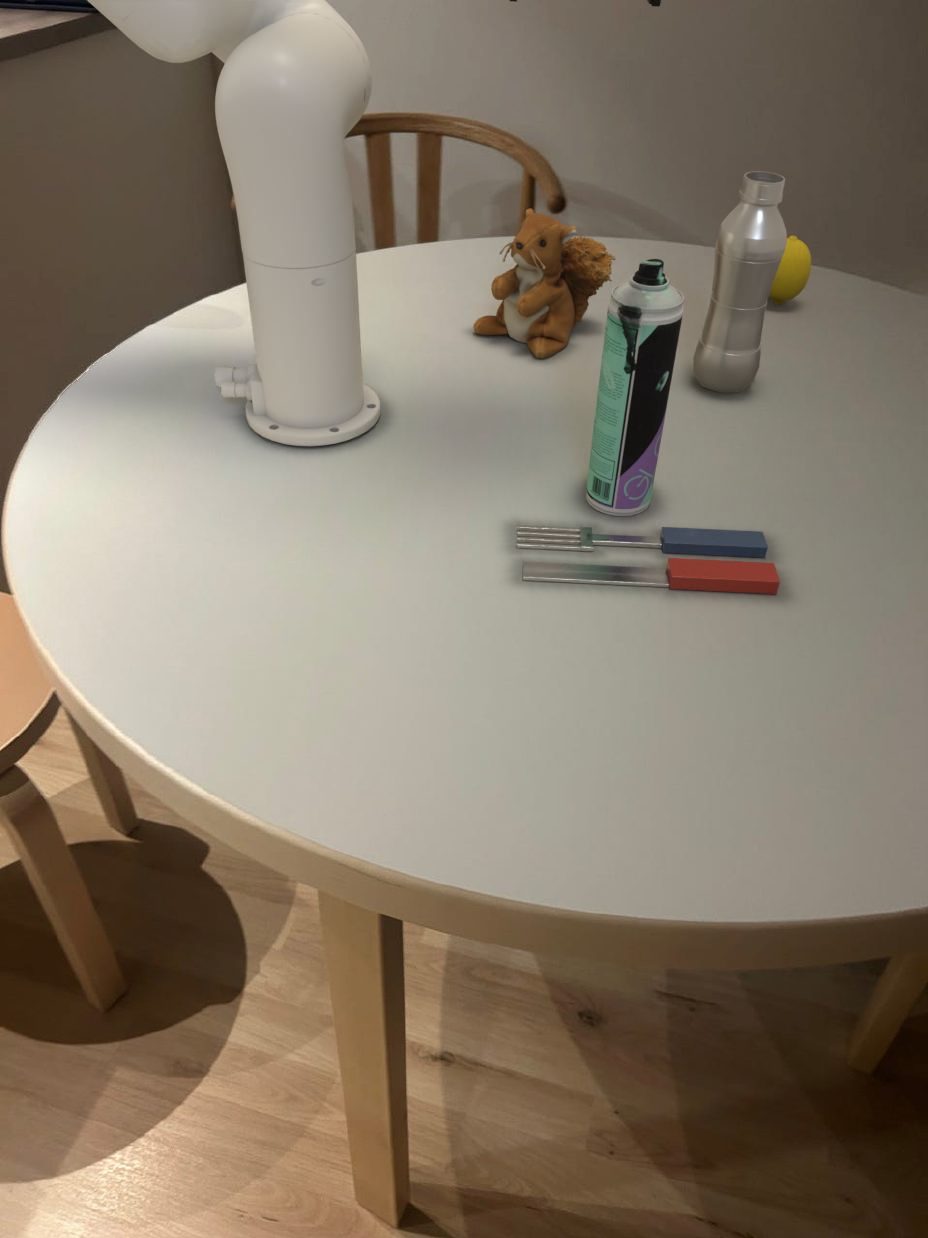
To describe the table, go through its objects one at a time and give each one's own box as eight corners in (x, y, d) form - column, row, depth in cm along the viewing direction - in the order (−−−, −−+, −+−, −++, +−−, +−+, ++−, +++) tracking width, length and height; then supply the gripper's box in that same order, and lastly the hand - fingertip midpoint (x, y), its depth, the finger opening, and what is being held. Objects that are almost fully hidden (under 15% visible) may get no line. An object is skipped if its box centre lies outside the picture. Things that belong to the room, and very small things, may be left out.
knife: (522, 581, 72) (523, 569, 71) (523, 562, 74) (523, 550, 73) (776, 594, 72) (780, 581, 71) (770, 575, 73) (774, 562, 73)
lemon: (745, 297, 115) (759, 229, 110) (785, 293, 117) (801, 225, 112) (769, 315, 111) (785, 246, 106) (810, 310, 113) (828, 242, 108)
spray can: (648, 520, 79) (690, 278, 66) (582, 511, 79) (610, 271, 67) (652, 485, 83) (692, 251, 70) (588, 477, 84) (617, 244, 71)
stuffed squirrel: (466, 334, 106) (469, 210, 97) (556, 303, 113) (566, 185, 104) (529, 365, 100) (538, 237, 92) (619, 331, 107) (635, 208, 99)
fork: (516, 548, 75) (517, 537, 75) (517, 527, 78) (517, 517, 77) (766, 560, 75) (768, 549, 74) (759, 539, 77) (762, 529, 76)
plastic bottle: (707, 403, 94) (750, 190, 82) (677, 373, 99) (714, 168, 86) (765, 396, 96) (817, 186, 83) (733, 367, 101) (777, 164, 88)
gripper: (462, -359, 53) (456, 5, 64) (776, -351, 53) (716, 14, 64) (469, -343, 59) (462, -12, 70) (752, -335, 58) (700, -3, 69)
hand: (583, 0), depth 67 cm, fingers open, 9 cm apart
